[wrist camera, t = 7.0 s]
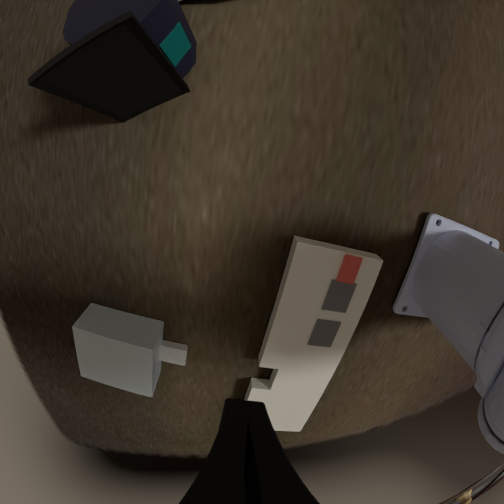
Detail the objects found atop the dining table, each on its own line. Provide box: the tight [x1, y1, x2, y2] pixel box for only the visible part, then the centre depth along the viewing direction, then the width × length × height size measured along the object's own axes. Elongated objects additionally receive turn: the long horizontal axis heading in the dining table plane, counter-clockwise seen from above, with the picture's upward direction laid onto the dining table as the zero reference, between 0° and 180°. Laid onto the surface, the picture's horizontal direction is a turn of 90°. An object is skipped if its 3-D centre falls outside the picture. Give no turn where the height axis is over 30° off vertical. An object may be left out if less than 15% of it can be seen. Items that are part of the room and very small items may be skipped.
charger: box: [72, 303, 188, 397], centre depth 19 cm, size 8×5×4 cm, turn 77°
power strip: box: [244, 236, 383, 431], centre depth 21 cm, size 6×18×1 cm, turn 167°
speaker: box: [28, 0, 196, 122], centre depth 10 cm, size 6×5×9 cm
